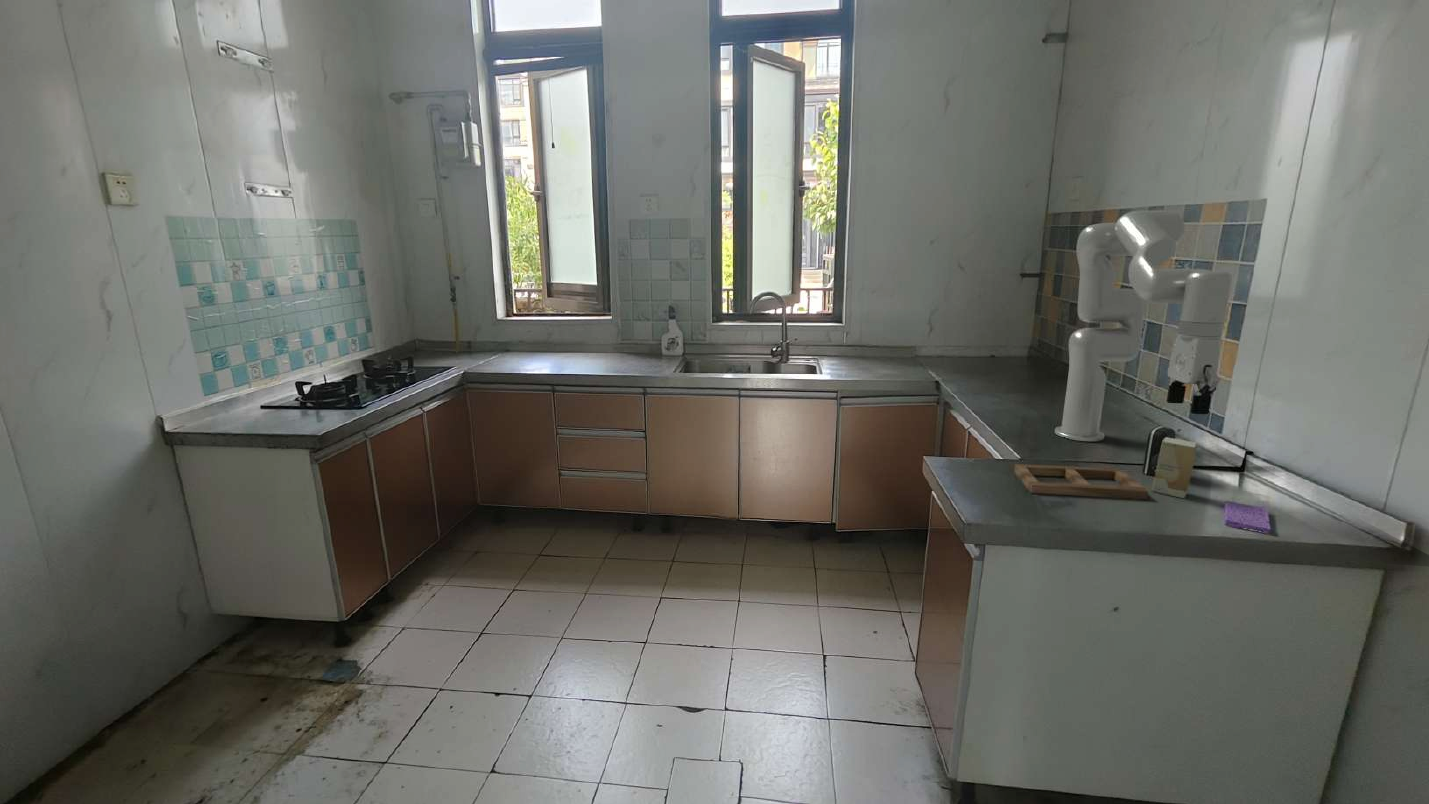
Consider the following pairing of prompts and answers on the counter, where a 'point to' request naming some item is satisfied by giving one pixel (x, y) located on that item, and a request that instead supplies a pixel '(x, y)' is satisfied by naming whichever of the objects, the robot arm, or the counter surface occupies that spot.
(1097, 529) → the counter surface
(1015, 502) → the counter surface
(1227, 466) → the counter surface
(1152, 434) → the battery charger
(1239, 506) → the sponges
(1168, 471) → the skincare box
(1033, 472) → the rack
